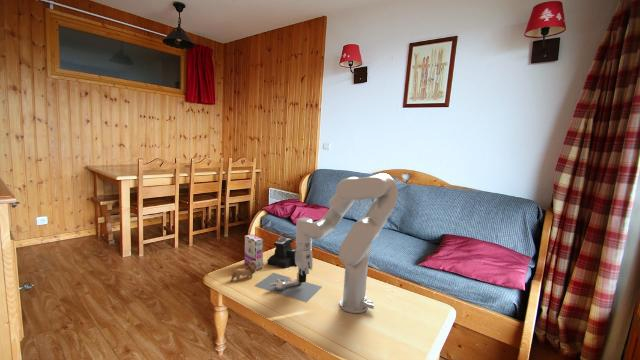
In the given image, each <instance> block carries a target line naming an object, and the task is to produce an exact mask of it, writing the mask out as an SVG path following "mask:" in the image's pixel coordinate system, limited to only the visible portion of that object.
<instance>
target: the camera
mask: <svg viewBox="0 0 640 360" xmlns="http://www.w3.org/2000/svg"><path fill="white" fill-rule="evenodd" d="M294 241H295V240H293V239H292V238H288V237H284V236H281V237H279V238H278V240H277V241H275V242H274V243H273V246H274V247H275V249H274V253H273V254H272V255H271V256H270V257H268V258H267V260H266V261H267V265H268V266H273V267H279V268H285V269H286V268H288V267H290V266H291V267H296V268H297V267H298V266H297V265H296V264H295V253H296V248H294V249H293V247H292V244H291V243H294Z"/></svg>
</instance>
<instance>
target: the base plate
mask: <svg viewBox="0 0 640 360" xmlns="http://www.w3.org/2000/svg"><path fill="white" fill-rule="evenodd" d="M276 279H280V280H285V281H286V282H290V281H294V280H297V278H292V277H290V276H286V275H283V274H279V273H275V272H272V273H271V274H269V275H268V276H266V277H264V278H263V279H262V280H261V281H259V282H258V283H256V284H254V287H256V288H259V289H263V290H266V291H269V292H273V293H275V294H279V295H281V296H285V297H287V298H290V299H291V298H292V299H293V300H294V299H295V300H298V301H301V302H304V303H307V302H309V301H310V299H312V297H314V295H316V294H317V293H318V291H320V290H321V289H322V288H323V286H322V285H319V284H314V283H311V282H307V281H306V282H303V283H302V284H301V285H293V286H289V287H286V289H285V290H283V291H277V290H275V286H272V287H270V283H275V281H276Z"/></svg>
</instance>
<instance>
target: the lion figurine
mask: <svg viewBox="0 0 640 360" xmlns="http://www.w3.org/2000/svg"><path fill="white" fill-rule="evenodd" d="M256 269H257V261H252V262H250V264H249V265H248V266H246V267H245V268H236V269H235V270H233V272H232V274H231V278H230V283H232V282H233V280H234V279H235V278H236V282H240V277H247V278H249V279H252V278H253V274H255V273H256V271H257V270H256Z"/></svg>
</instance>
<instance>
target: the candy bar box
mask: <svg viewBox="0 0 640 360" xmlns="http://www.w3.org/2000/svg"><path fill="white" fill-rule="evenodd" d="M263 253H264V239H263V238H261V237H260V236H257V235H254V234H252V233H250V234H248V235H247V234H246V235H244V265H245V266H246V267H248V265H249V264H250V262H252V261H257V269H256V271H258V270H262V269H263V265H264V264H263V261H264V260H263V257H264V254H263Z"/></svg>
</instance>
